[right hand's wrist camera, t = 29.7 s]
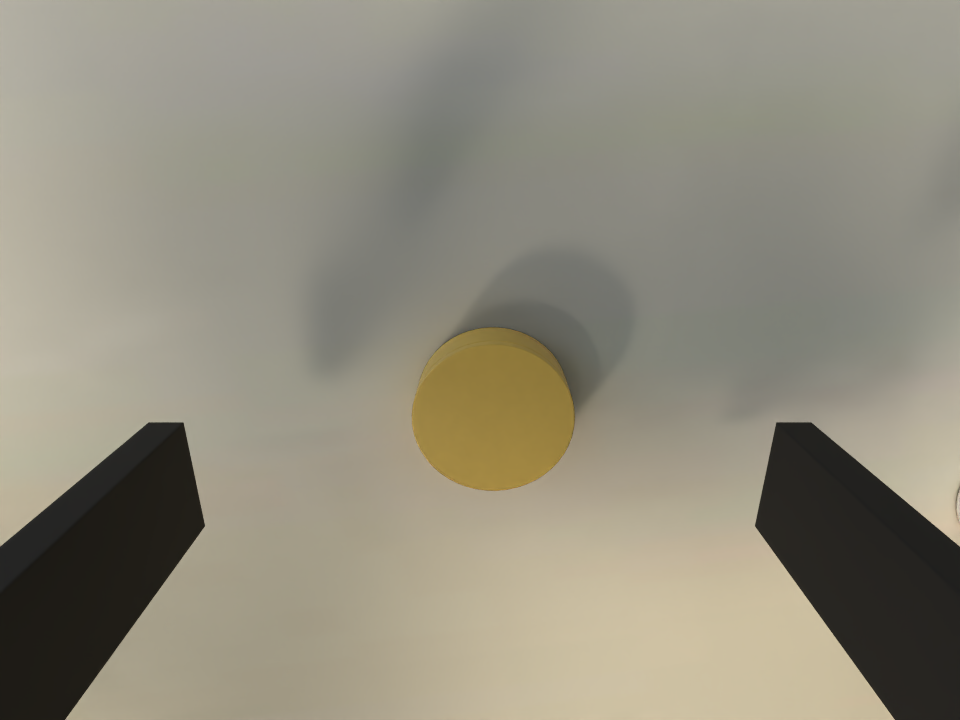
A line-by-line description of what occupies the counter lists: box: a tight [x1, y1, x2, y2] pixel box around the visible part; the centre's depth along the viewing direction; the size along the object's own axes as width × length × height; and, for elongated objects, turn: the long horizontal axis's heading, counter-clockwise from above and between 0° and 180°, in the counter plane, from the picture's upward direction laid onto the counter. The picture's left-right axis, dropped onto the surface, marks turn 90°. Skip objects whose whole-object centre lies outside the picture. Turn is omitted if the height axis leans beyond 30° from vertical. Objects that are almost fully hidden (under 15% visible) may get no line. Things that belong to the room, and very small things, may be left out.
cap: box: [412, 328, 575, 491], centre depth 16 cm, size 4×4×2 cm
